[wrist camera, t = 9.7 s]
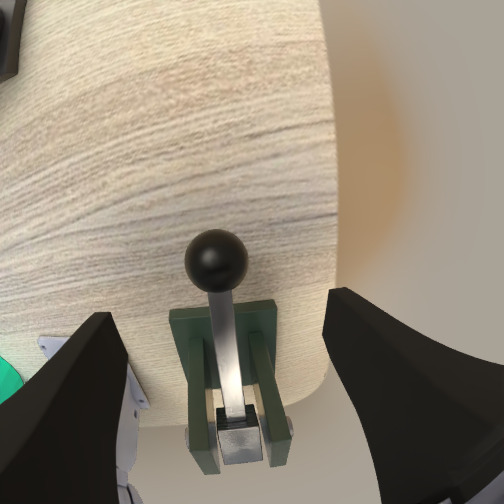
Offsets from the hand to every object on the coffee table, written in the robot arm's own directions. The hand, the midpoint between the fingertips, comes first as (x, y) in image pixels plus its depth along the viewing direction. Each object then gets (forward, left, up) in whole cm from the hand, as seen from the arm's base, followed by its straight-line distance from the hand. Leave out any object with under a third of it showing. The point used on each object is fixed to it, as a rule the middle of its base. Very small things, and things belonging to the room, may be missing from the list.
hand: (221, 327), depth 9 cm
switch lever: (-5, 0, -4) cm, 7 cm away
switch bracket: (-9, 0, -8) cm, 12 cm away
